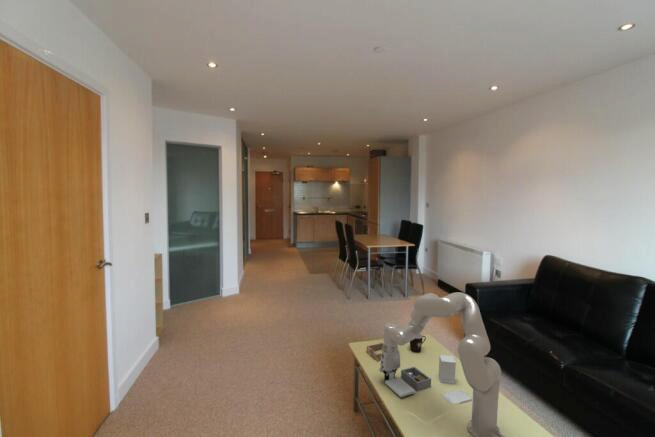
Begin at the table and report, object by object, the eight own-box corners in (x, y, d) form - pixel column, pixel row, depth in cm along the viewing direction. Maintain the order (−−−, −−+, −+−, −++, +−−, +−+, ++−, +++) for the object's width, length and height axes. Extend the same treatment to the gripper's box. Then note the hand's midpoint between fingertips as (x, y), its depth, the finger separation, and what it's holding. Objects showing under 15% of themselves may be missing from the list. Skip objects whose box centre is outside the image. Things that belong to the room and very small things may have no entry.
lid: (415, 392, 155) (415, 383, 155) (400, 397, 151) (400, 388, 151) (394, 375, 170) (394, 367, 170) (380, 379, 167) (380, 370, 166)
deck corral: (393, 357, 193) (393, 351, 192) (377, 361, 188) (377, 355, 187) (382, 348, 204) (382, 342, 203) (366, 352, 199) (366, 346, 198)
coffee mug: (410, 353, 198) (410, 338, 197) (407, 347, 207) (407, 332, 206) (428, 354, 198) (429, 338, 197) (424, 347, 206) (425, 332, 206)
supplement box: (455, 386, 164) (456, 362, 163) (440, 384, 166) (441, 361, 165) (452, 378, 171) (453, 356, 171) (438, 376, 173) (439, 354, 172)
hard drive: (459, 389, 160) (440, 393, 155) (472, 398, 152) (452, 404, 148) (459, 392, 160) (440, 397, 156) (472, 401, 152) (452, 407, 148)
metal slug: (413, 379, 168) (414, 373, 168) (409, 381, 167) (409, 374, 166) (410, 376, 170) (410, 370, 170) (405, 378, 169) (405, 371, 169)
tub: (430, 388, 162) (431, 378, 162) (417, 392, 158) (417, 383, 158) (413, 375, 174) (414, 366, 173) (400, 378, 170) (401, 370, 169)
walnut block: (425, 385, 162) (425, 378, 162) (420, 388, 160) (420, 381, 160) (419, 382, 166) (419, 374, 165) (414, 384, 163) (414, 377, 163)
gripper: (381, 353, 159) (380, 388, 160) (407, 347, 166) (406, 380, 167) (373, 347, 165) (372, 380, 167) (398, 341, 172) (397, 373, 174)
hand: (389, 380), depth 167 cm, fingers closed on lid, 3 cm apart
